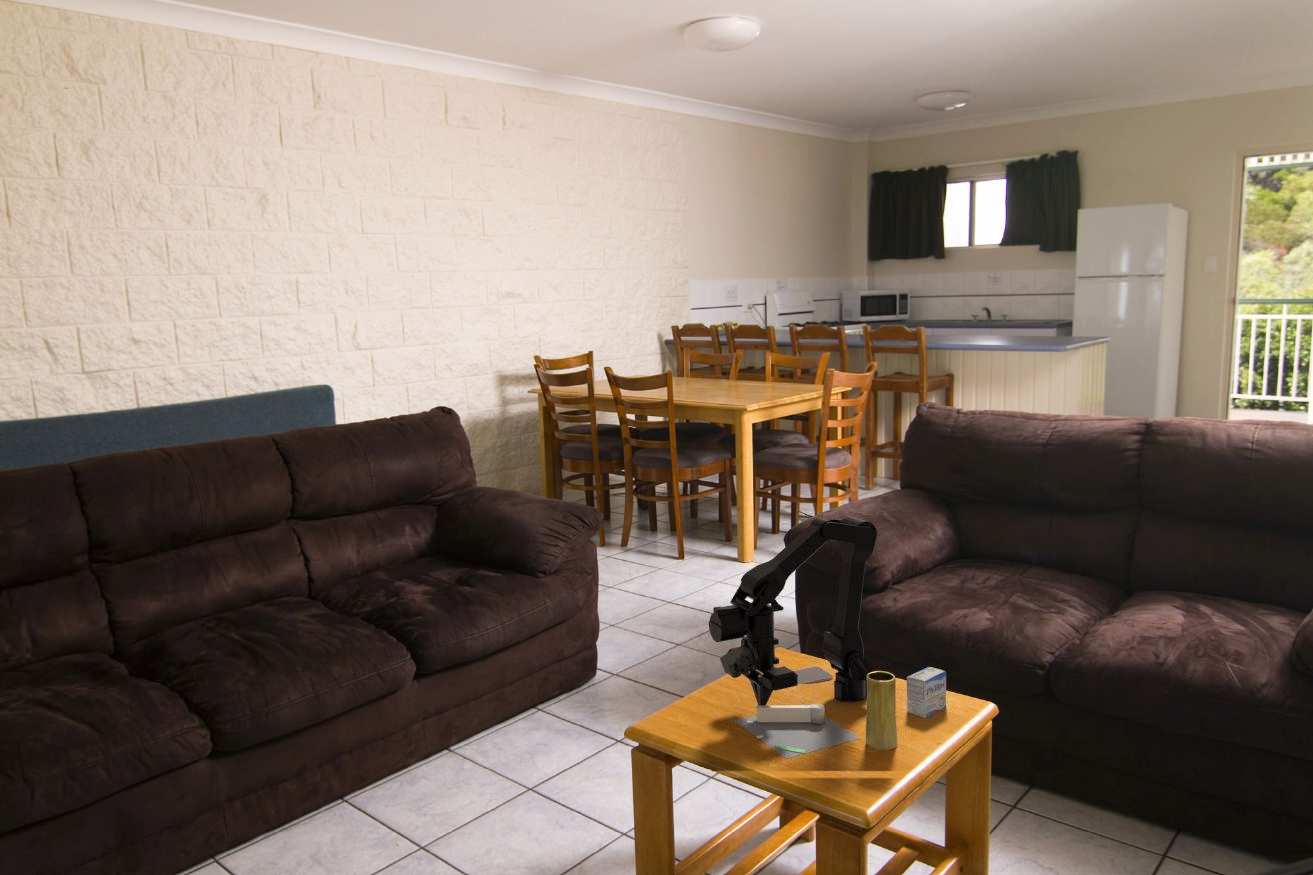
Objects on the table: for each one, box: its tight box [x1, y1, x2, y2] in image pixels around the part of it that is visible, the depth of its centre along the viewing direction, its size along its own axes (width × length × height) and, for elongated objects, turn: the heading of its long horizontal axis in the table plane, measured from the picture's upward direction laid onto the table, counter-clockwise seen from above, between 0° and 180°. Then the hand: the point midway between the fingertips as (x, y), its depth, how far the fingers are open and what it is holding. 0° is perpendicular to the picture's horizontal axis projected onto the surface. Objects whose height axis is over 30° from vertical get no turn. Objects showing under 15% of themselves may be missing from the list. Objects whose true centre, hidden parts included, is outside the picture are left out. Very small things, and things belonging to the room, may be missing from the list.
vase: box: [865, 670, 899, 751], centre depth 173 cm, size 6×6×14 cm
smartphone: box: [793, 665, 834, 685], centre depth 209 cm, size 7×1×15 cm
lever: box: [756, 703, 826, 724], centre depth 184 cm, size 14×3×3 cm, turn 86°
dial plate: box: [734, 703, 861, 760], centre depth 181 cm, size 17×19×1 cm
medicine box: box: [906, 666, 947, 719], centre depth 188 cm, size 8×4×9 cm, turn 131°
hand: (761, 707), depth 187 cm, fingers closed
